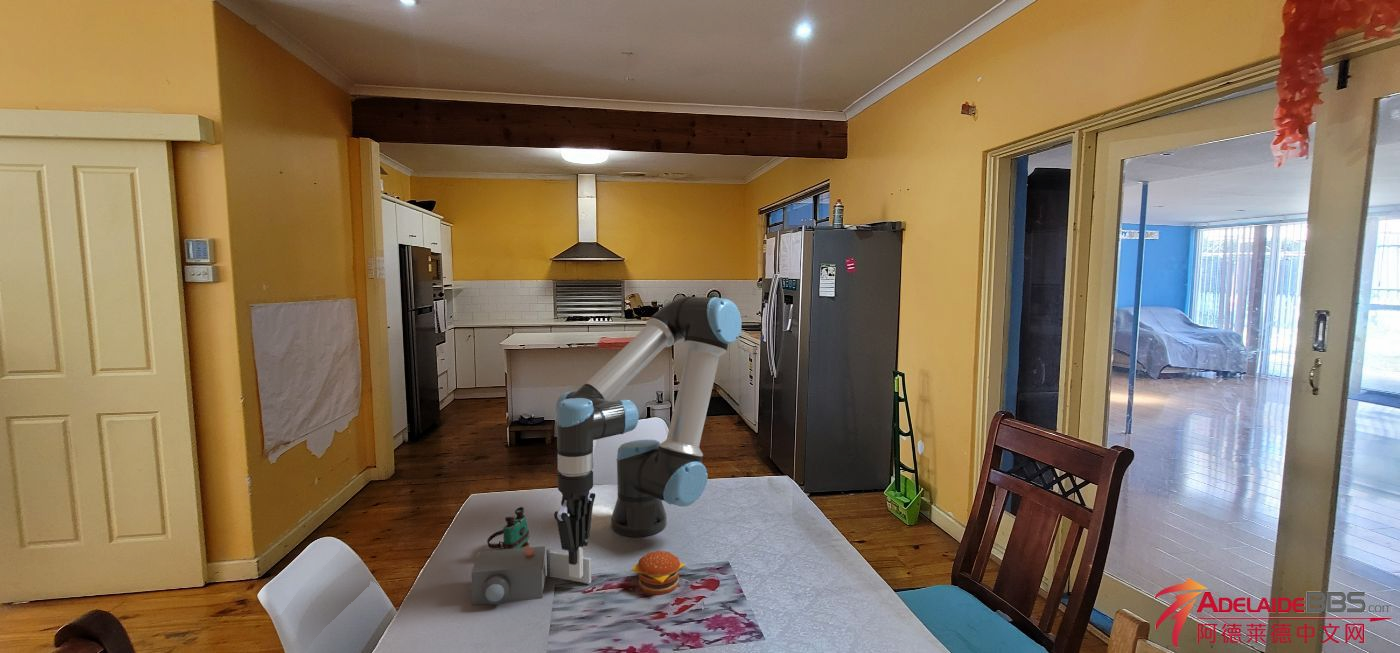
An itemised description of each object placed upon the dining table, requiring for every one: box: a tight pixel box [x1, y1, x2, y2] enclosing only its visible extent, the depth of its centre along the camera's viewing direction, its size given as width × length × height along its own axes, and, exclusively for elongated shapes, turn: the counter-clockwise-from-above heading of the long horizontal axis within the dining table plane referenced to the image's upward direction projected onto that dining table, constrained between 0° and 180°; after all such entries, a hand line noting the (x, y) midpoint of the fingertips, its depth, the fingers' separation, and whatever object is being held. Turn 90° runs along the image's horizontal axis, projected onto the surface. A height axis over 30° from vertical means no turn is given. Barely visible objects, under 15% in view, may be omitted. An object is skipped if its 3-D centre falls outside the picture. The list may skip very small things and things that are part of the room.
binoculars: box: [486, 506, 531, 550], centre depth 137 cm, size 9×11×10 cm
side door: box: [545, 548, 592, 585], centre depth 125 cm, size 1×11×6 cm, turn 72°
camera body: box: [470, 545, 547, 605], centre depth 120 cm, size 14×12×8 cm
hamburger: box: [630, 550, 687, 595], centre depth 124 cm, size 9×10×7 cm
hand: (576, 575), depth 123 cm, fingers closed
